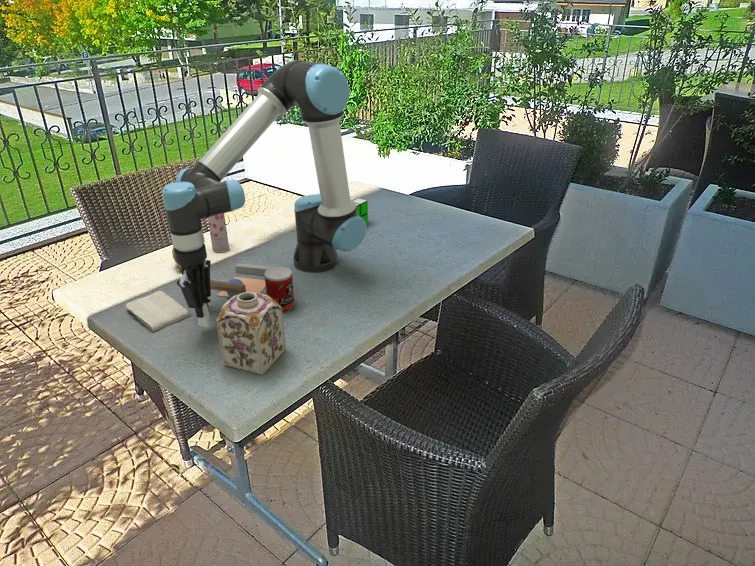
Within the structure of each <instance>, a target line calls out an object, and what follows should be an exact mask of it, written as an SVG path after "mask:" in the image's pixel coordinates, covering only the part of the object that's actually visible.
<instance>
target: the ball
mask: <svg viewBox="0 0 755 566" xmlns="http://www.w3.org/2000/svg"><path fill="white" fill-rule="evenodd" d="M227 282H230V283H239V284H243V282H242V281H241V280H239V279H233V278H231V279H230V280H228V281H227ZM227 294H228V295H230V296H232V297H233V296H235V294H234V292H227Z"/></svg>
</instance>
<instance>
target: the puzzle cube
mask: <svg viewBox="0 0 755 566" xmlns="http://www.w3.org/2000/svg"><path fill="white" fill-rule="evenodd" d="M350 199H351V200H353V201H354V202H355V203H356V208H357V215H358V216H359V217H362V219H363V220H364V221H365V222H366V226H368V225H369V215H368V214H369V208H368V207H369V206H368V205H369V202H368V200H366V199H362V198H359V197H355V196H350Z"/></svg>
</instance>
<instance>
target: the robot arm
mask: <svg viewBox="0 0 755 566" xmlns="http://www.w3.org/2000/svg"><path fill="white" fill-rule="evenodd" d="M350 92H351V91H350V84H349V82H348V79H347V77H346V76H345V74H344V73H343V72H342V71H341V70H339V69H338V68H337V67H335V66H333V65H332V66H331V65H329V64H327V63H319V62H310V61H306V60H305V61H304V60H298V59H297V60H292V61H289V62H287V63H285V64H283V65H282V66H280V67H279V68H277V69H276V70H275V71H274V72H273V73H271V74H270V76H268V78H267V79H265V80H264V81H263V83H262V84H261V85H260V86H259V87H258V88H257V96H255V98H254V99H253V100H252V101H251V102H250V103H249V104H248V106H246V108H244V110H243V111H242V112H241V114H240V115H239V116H238V117H237V118H236V119H235V120H234V121H233V123H231V125H229V126H228V128H227V129H226V130H225V131H224V132H223V134H222V135H221V136H220V137H219V138H218V139H217V140H216V142H215V143H214V144H213V145H212V146H211V147H210V148H209V149H208V150H207V151H206V153H205V154H204V155H203V156H202V157H201V158H200V160H199V161H197V162H196V163H195V165H194V166H193V167H189V168H184V169H182V170H180V171H179V172H178V173H177V175H176V178H175V182H172V183H168V184H167V185H165V186H164V187H163V188H162V192H161V193H162V203H163V209H164V211H165V215H166V219H167V224H168V228H169V233H170V238H171V244H172V248H173V247H174V254H175V259H176V262H177V263H178V264H180V265H181V267H180V268H181V271H180V274H182V275H183V276H182V279H179V280H177V281H176V284H177V286H178V287H179V288H180V291H181V292H182V295H183V297H184V300H185V302H186V304H187V307H188V308H189V309H194V312H195V317H196V319H197V323H198V326H199V327H205V328H208V327H209V326H210V325H211V324H212V323H211V319H210V314H209V308H208V306H207V302H208V304H210V303H211V299H210V297H212V295H211V294H212V290H211V286H210V280H211V264H212V263H211V260H209V259H207V258H208V253H207V248H206V244H205V236H204V230H203V226H202V220H205V219H208V217H212V216H216V215H219V214H223V213H224V214H227V213H230V212H234V211H236V210H238V209H239V210H240V209H241V208H243V207H244V206H245V203H246V194H245V191H244V188H243V185H242V184H241V183H240V182H239V181H238V180H237V179H225V180H223V179H224V178H225V177H226V176H228V174H229V173H230V171H231V170H232V169H234V167H235V166H236V164H238V162H239V161H240V160H241V159H242V158H243V157H244V155H245V154H247V152H249V150H250V148H252V146H254V144H255V143H256V142H257V141H258V140H259V138H261V136H262V135H264V133H265V132H266V131H267V130H268V129H269V127H270V126H271V125H272V124H273V123H274V122H275V121H276V120H277V118H278V117H279V116H285V115H286V114H287V113H288V111H290V110H291V109H292V108H294V107H299V113H300V118H301V122H303V123H304V124H306V125H307V126H308V132H309V137H310V143H311V150H312V155H313V161H314V166H315V172H316V177H317V179H316V180H317V185H318V191H319V193H315V194H309V195H304V196H301V197H299V198H297V199H296V200H295V202H294V210H293V211H294V212H293V213H294V218H295V219H294V220H295V230H296V232H295V233H296V245H295V249H294V253H293V258H292V259H293V260H292V261H293V266H294V267H295V268H296V269H298V270H300V271H303V272H307V273H308V272H309V273H321V272H326V271H329V270H332V269H334V268H335V267H337V266H338V264H339V261H340V259H339V253H338V251H341V252H343V253H344V252H345V253H347V252H351V251H354V250H356V249H357V248H358V247H359V246H360V245H361V244H362V243H363V242H362V241H364V238H365V237H366V234H367V230H368V229H367V225H366V222H365V221H364V220H363V219H362V217H359V216H358V215H357V208H356V203H355V202H354V201H353V200H351V199H350V195H351V194H350V190H349V189H350V188H349V182H348V181H349V180H348V173H347V167H346V161H345V160H346V159H345V152H344V144H343V137H342V131H341V124H340V121H341V119H342V118H343V117H344V115H345V112H344V110H345V108H347V105H348V103H347V102H348V101H349V99H350ZM222 180H223V181H222ZM205 259H206V260H205ZM176 262H175V263H176Z"/></svg>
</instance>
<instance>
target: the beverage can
mask: <svg viewBox="0 0 755 566" xmlns="http://www.w3.org/2000/svg"><path fill="white" fill-rule="evenodd" d="M207 222H208V228H209V236H210V242H211V248H212V251H213V252H214V253H217V254H222V253H226V252H228V251H229V249H230V245H229V244H230V243H229V236H228V231H227V224H226V218H225V213H223V214H219V215H216V216H212V217H208V218H207Z"/></svg>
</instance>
